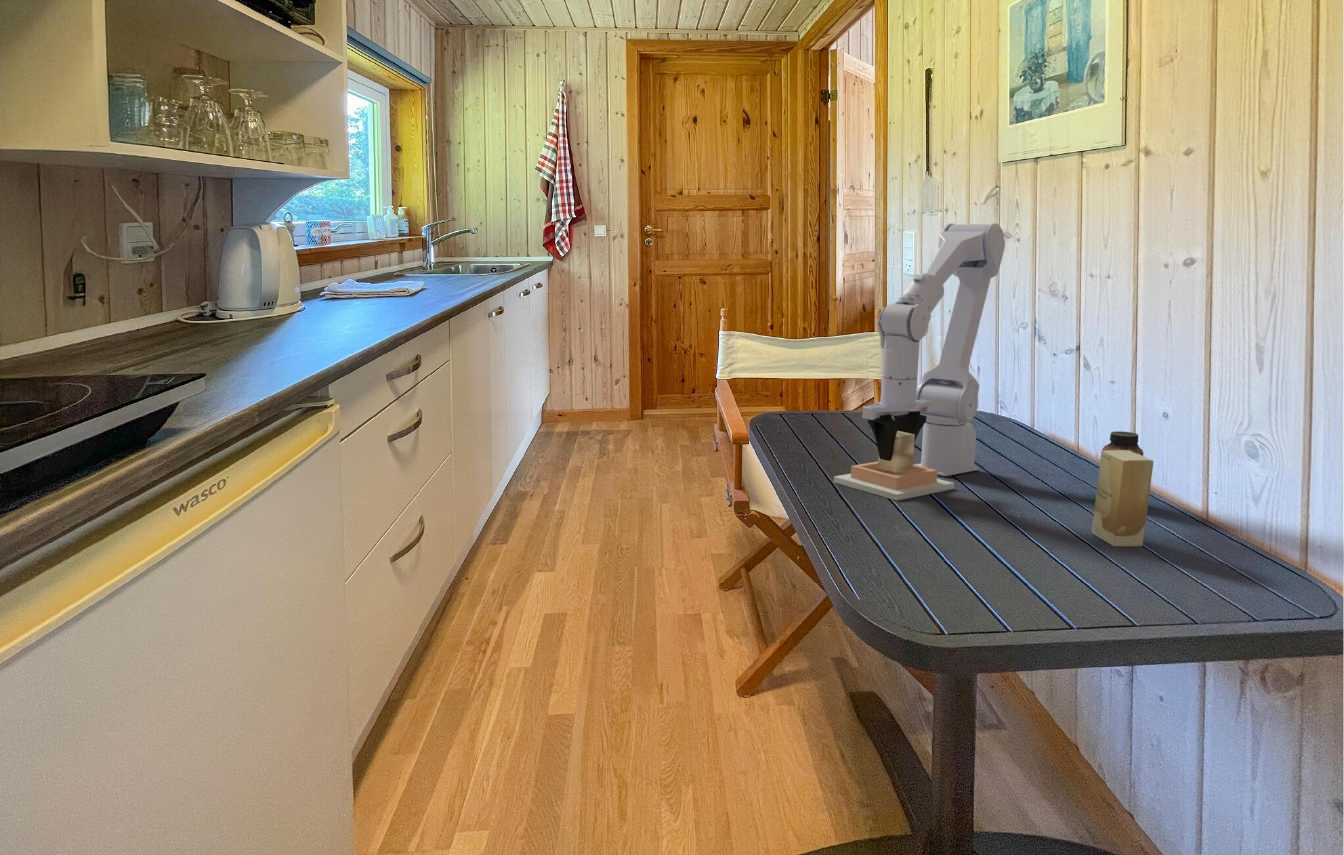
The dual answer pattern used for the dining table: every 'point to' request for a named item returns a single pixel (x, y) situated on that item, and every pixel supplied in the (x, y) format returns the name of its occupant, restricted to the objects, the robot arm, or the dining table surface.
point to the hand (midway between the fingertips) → (894, 457)
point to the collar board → (894, 481)
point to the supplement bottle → (1124, 442)
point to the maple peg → (900, 454)
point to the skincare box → (1122, 497)
